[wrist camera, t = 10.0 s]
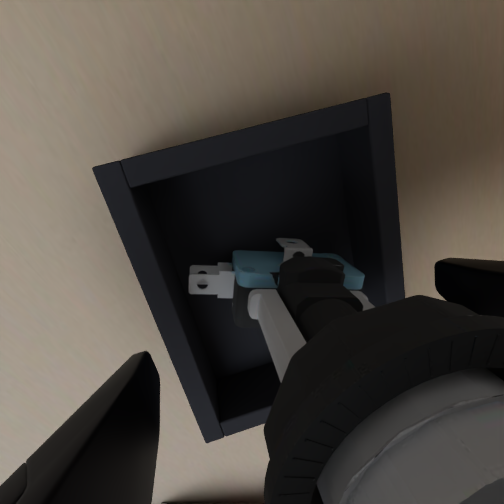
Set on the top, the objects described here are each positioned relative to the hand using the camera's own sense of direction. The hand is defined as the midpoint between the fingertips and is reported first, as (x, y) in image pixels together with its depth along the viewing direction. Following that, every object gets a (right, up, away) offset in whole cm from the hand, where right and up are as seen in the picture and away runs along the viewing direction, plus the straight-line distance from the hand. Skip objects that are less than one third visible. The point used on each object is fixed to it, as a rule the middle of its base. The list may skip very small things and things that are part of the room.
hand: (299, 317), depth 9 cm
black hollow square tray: (-1, +1, +5) cm, 5 cm away
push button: (-1, +1, +4) cm, 4 cm away
